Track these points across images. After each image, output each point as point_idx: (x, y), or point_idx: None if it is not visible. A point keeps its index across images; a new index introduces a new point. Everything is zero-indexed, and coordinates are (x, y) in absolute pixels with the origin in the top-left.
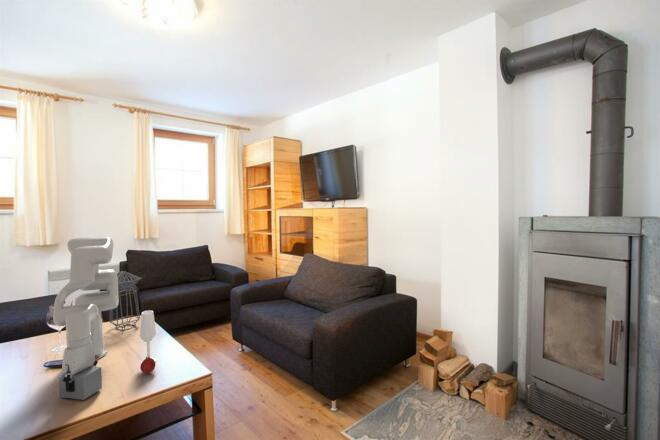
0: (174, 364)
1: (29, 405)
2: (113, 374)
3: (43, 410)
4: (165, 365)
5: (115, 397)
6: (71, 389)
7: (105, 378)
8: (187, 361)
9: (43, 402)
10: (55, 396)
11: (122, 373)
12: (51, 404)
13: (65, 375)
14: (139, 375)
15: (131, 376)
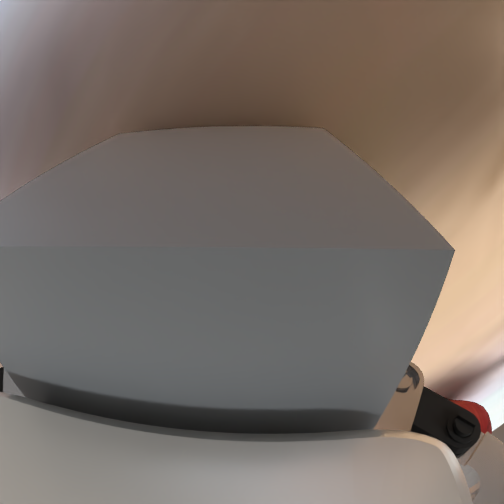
0: (489, 414)
1: (27, 8)
2: (498, 251)
3: (17, 171)
4: (495, 399)
5: None
6: None
7: (458, 239)
8: (491, 426)
9: (66, 55)
10: (149, 50)
11: (494, 296)
12: (64, 148)
13: (10, 370)
14: (444, 383)
15: (445, 362)
